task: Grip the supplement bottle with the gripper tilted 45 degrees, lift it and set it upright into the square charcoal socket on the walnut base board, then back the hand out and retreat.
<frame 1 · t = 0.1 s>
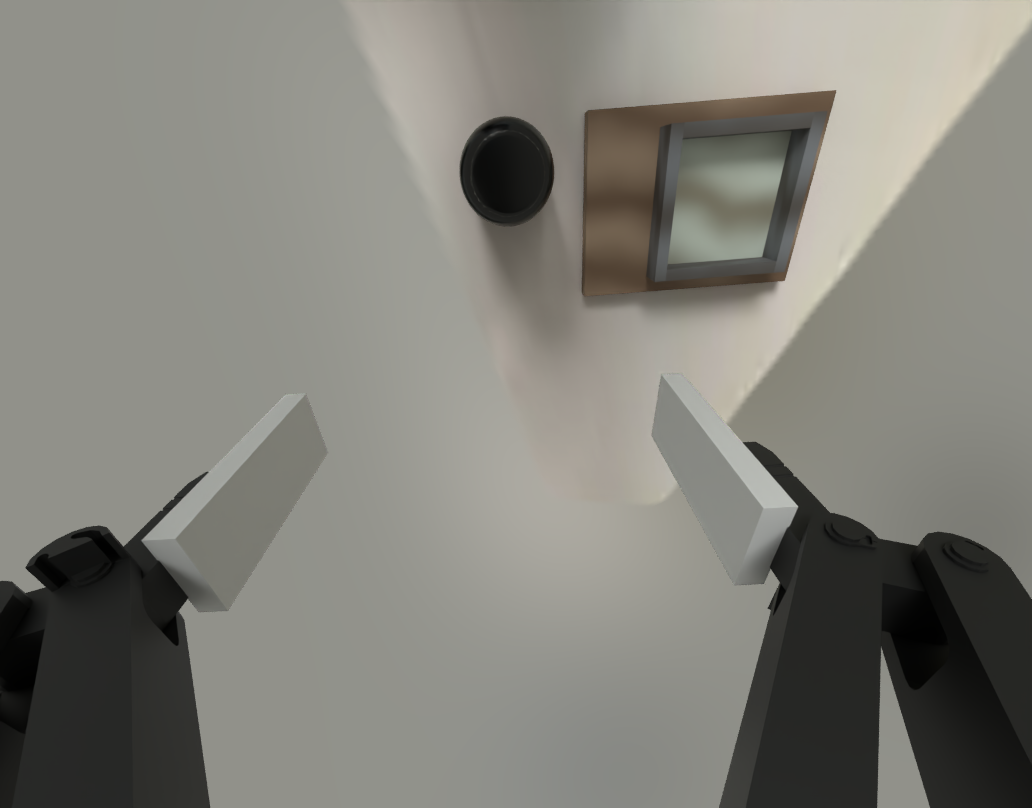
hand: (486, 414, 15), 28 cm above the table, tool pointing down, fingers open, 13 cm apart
base board: (689, 203, 36), on the table
supplement bottle: (505, 174, 35), on the table
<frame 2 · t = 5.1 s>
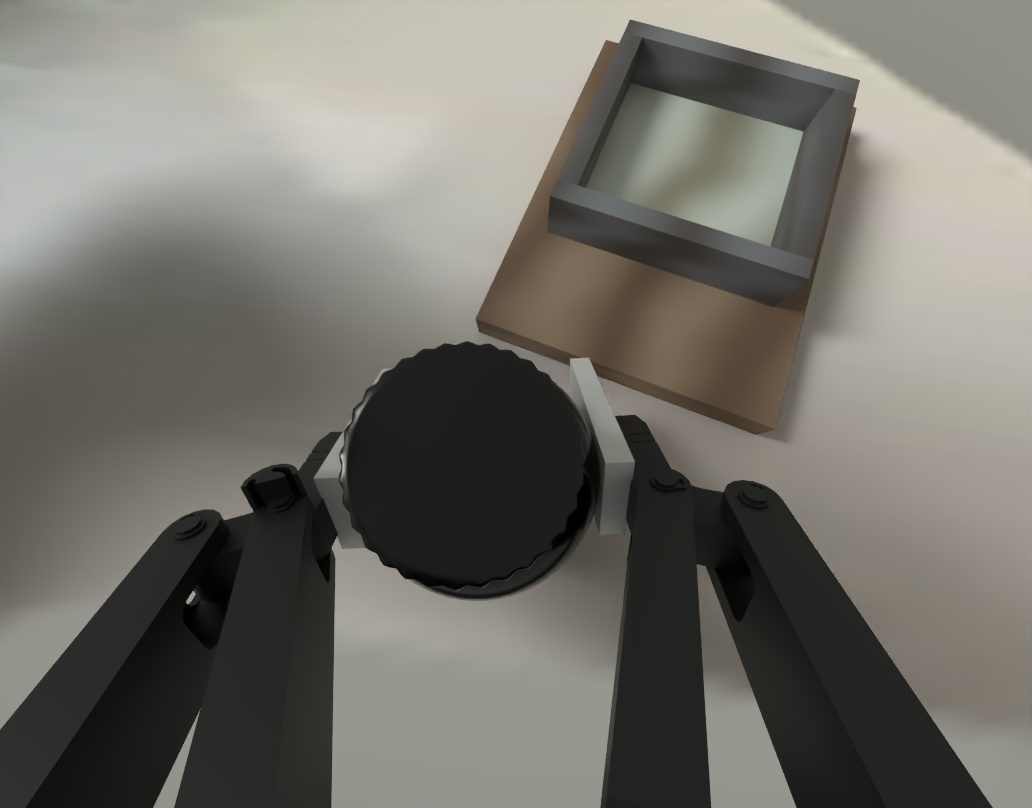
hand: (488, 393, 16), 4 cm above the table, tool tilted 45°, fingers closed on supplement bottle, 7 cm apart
base board: (668, 225, 22), on the table
supplement bottle: (497, 483, 19), on the table, touching gripper
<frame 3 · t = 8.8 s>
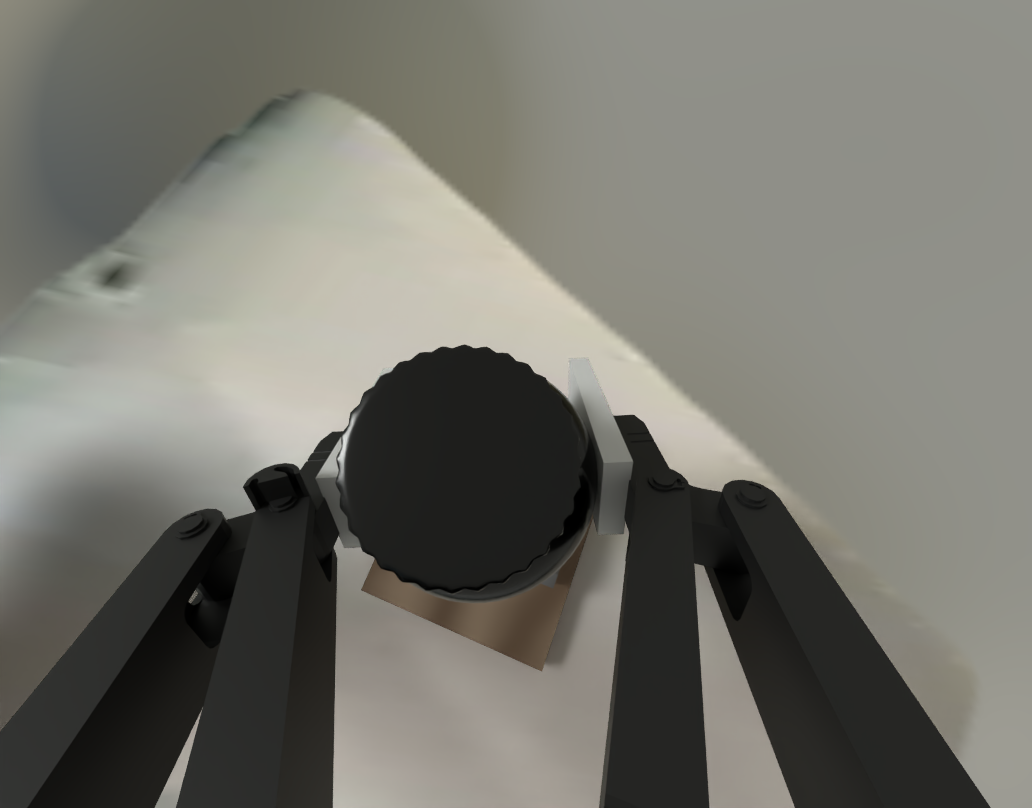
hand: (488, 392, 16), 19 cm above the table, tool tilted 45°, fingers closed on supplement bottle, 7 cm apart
base board: (499, 502, 33), on the table
supplement bottle: (497, 484, 19), point 15 cm above the table, touching gripper
when the fingers open (7 cm above the table, at t = 12.1 s): supplement bottle drops 1 cm, resting on base board.
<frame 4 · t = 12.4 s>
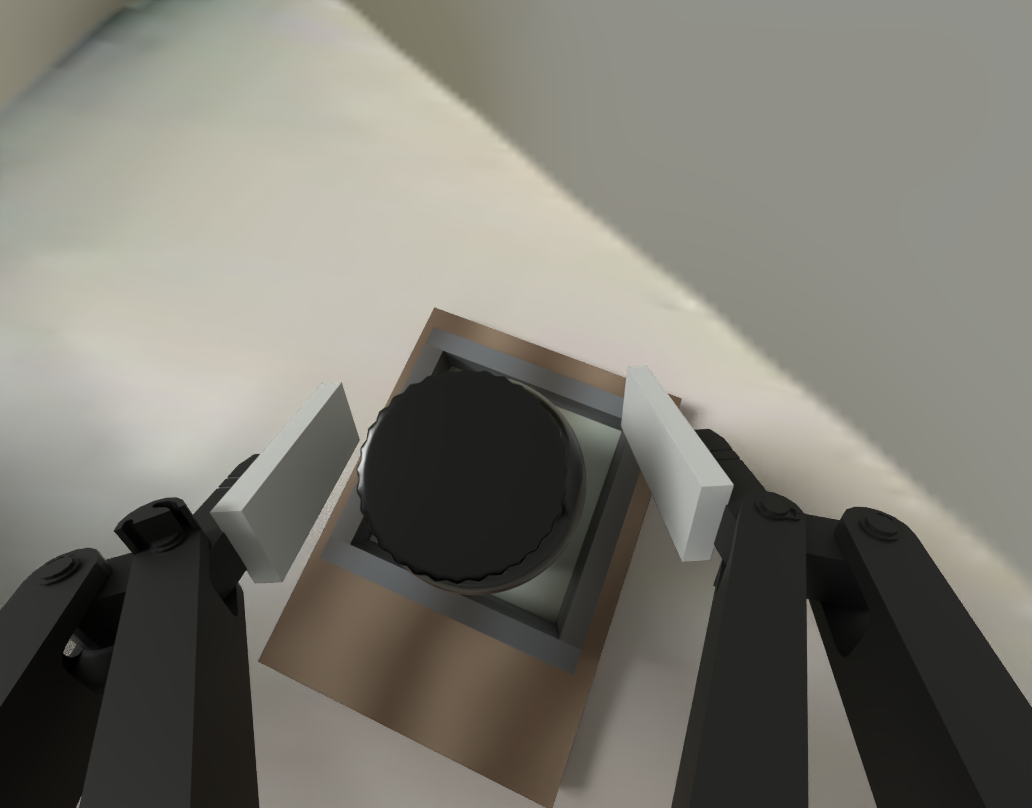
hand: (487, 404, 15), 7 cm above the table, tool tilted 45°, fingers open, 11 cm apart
base board: (486, 519, 21), on the table
supplement bottle: (495, 486, 20), point 2 cm above the table, touching base board
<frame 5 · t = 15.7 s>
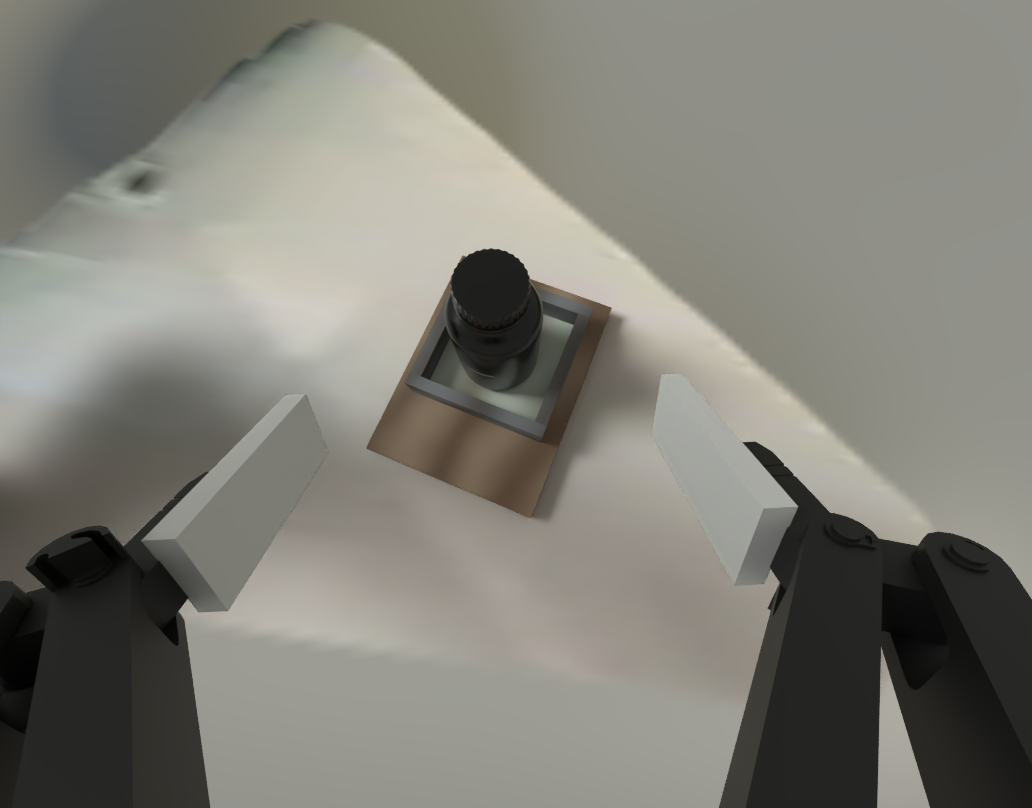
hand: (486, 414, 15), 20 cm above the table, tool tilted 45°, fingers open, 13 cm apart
base board: (495, 380, 36), on the table
supplement bottle: (500, 356, 35), point 2 cm above the table, touching base board
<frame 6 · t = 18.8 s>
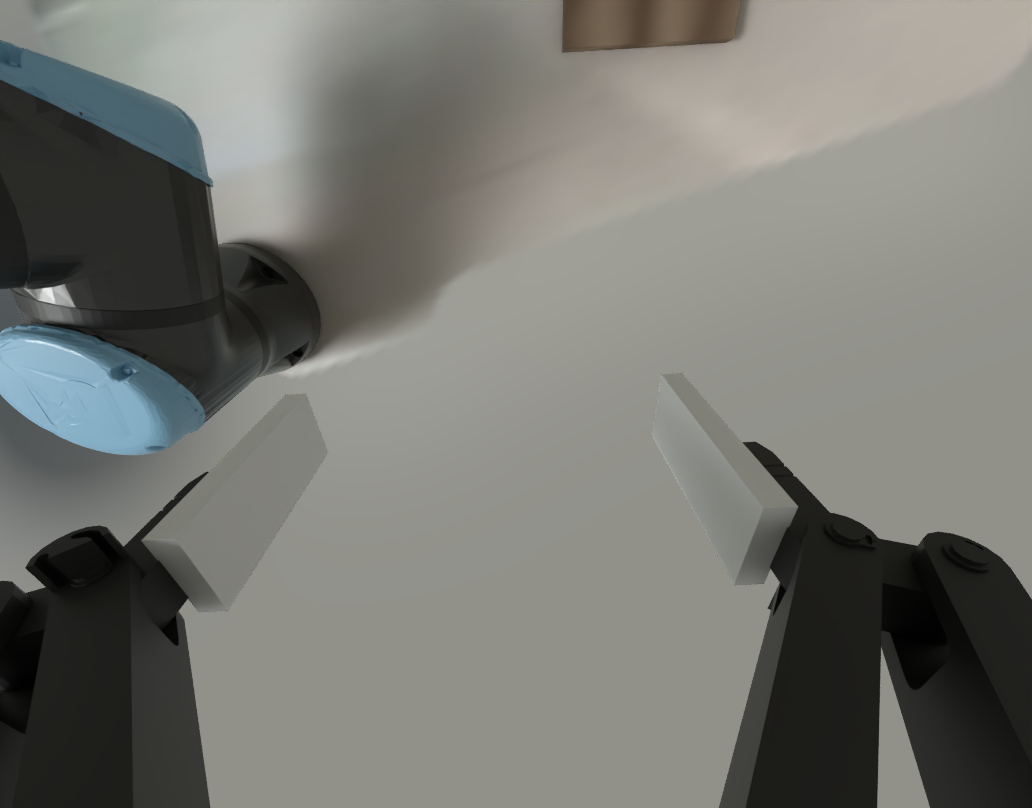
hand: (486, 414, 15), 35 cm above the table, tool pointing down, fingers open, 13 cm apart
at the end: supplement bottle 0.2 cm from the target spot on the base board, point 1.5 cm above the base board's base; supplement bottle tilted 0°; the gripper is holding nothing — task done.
